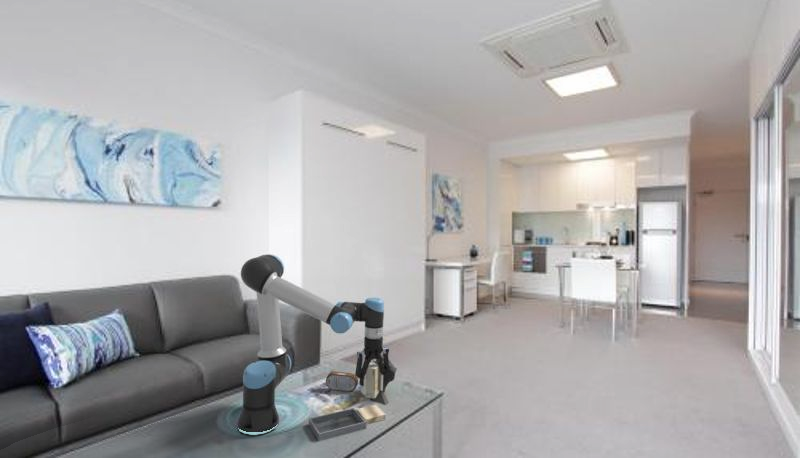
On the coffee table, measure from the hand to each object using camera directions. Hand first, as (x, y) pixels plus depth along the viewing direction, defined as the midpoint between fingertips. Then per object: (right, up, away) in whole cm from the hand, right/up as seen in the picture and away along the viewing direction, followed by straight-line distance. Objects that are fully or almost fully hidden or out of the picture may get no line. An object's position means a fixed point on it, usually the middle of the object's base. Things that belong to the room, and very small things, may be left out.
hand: (371, 391), depth 167 cm
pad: (-1, -11, +1) cm, 11 cm away
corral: (-13, -11, -8) cm, 19 cm away
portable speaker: (-16, -9, +23) cm, 29 cm away
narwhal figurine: (+3, -10, +21) cm, 23 cm away
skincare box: (0, -2, 0) cm, 2 cm away
